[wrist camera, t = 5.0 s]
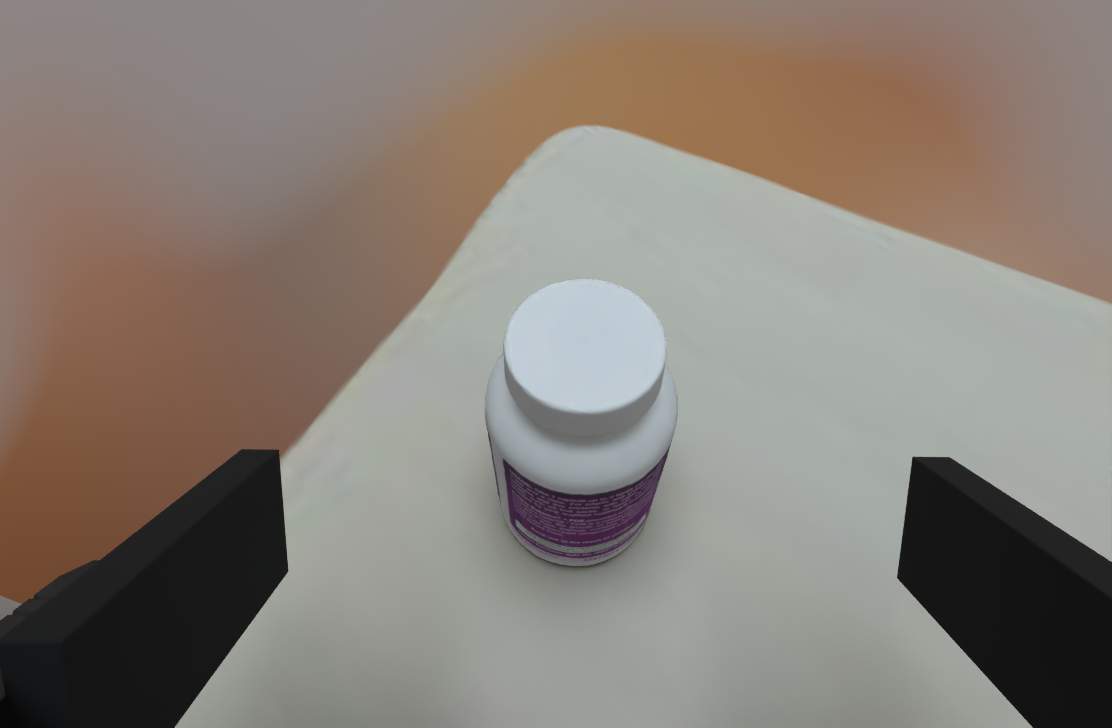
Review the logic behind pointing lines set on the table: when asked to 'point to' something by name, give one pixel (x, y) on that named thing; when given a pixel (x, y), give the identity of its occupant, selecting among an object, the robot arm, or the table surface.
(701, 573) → the table surface
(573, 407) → the pill bottle
